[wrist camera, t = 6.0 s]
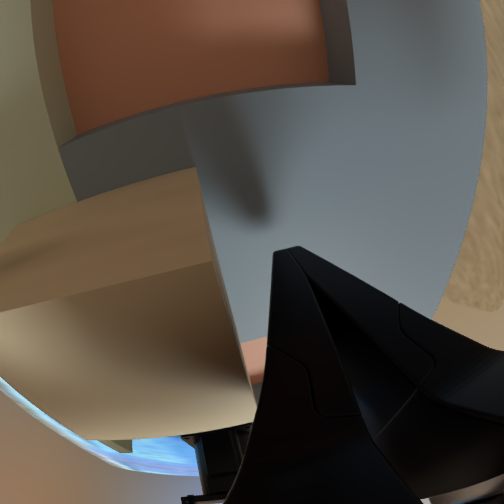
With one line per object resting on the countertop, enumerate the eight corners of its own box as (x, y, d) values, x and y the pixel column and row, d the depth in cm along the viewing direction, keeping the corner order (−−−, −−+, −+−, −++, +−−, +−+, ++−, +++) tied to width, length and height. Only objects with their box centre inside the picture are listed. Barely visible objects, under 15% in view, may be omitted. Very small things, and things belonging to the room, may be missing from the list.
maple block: (235, 322, 10) (260, 419, 7) (94, 350, 10) (86, 439, 7) (195, 166, 7) (211, 260, 4) (13, 227, 6) (-48, 324, 3)
